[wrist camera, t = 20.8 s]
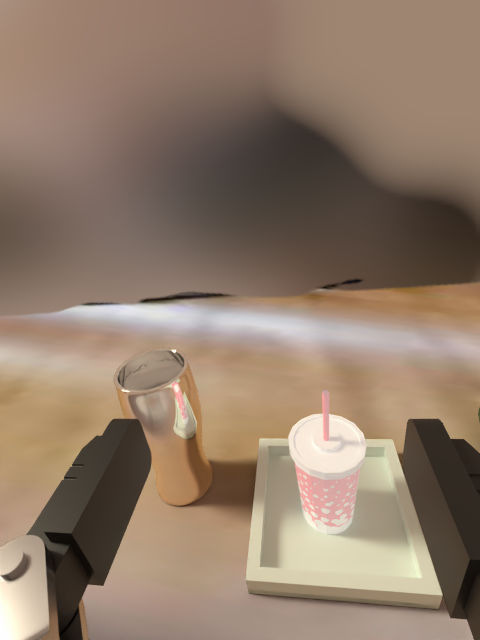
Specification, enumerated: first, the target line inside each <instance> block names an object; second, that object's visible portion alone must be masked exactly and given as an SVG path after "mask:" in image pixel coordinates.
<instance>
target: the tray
mask: <svg viewBox="0 0 480 640" xmlns="http://www.w3.org/2000/svg"><path fill="white" fill-rule="evenodd" d="M365 441H366V444H367V447H366V453H365V458H364V463H363V465H362V466H361V467H360V473H359V479H358V486H357V493H356V500H355V507H354V513H353V518H352V523H351V524H350V525H349V527H348V528H347V529H346V530H344V531H342V532H340V533H338V534H325V533H322V532H319V531H317V530H315V529H314V528H313V527H312V526H311V525H309V524H308V522H307V520H306V519H305V517H304V515H303V510H302V504H301V498H300V492H299V486H298V480H297V474H296V468H295V462H294V460H293V459H292V457H291V455H290V450H289V439H260V441H259V451H258V461H257V471H256V482H255V492H254V502H253V512H252V522H251V532H250V542H249V552H248V562H247V572H246V584H247V588H248V592H249V593H252V594H264V595H276V596H288V597H300V598H311V599H323V600H335V601H347V602H359V603H371V604H383V605H394V606H406V607H418V608H430V609H439V606H440V603H441V600H442V596H443V595H442V592H441V589H440V586H439V582H438V579H437V576H436V573H435V570H434V567H433V564H432V561H431V558H430V554H429V551H428V548H427V545H426V542H425V539H424V536H423V533H422V530H421V526H420V523H419V520H418V517H417V514H416V511H415V508H414V505H413V502H412V499H411V495H410V492H409V489H408V486H407V483H406V480H405V477H404V474H403V471H402V467H401V464H400V461H399V458H398V455H397V452H396V449H395V446H394V443H393V440H391V439H365Z"/></svg>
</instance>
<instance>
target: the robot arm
mask: <svg viewBox="0 0 480 640" xmlns="http://www.w3.org/2000/svg"><path fill="white" fill-rule="evenodd" d="M151 461H152V456H151V450H150V448H149V445H148V442H147V439H146V436H145V434H144V431H143V428H142V425H141V423H140V421H139V420H138V419H113V420H112V421H111V422H110V423H109V425H108V426H107V428H106V430H105V431H104V433H103V435H102V436H96V437H95V438H94V439H92V440H91V441H90V442H89V443H88V444H87V445H86V446H85V447H84V448H83V449H82V450H81V451H80V453H79V455H78V456H77V458H76V459H75V461H74V462H73V464H72V467H70V469H69V470H68V472H67V473H66V475H65V476H64V480H62V481H61V483H60V484H59V486H58V487H57V489H56V490H55V492H54V493H53V495H52V497H51V498H50V500H49V501H48V503H47V504H46V506H45V507H44V509H43V511H42V512H41V514H40V515H39V517H38V518H37V520H36V521H35V523H34V525H33V526H32V528H31V529H30V530H29V532H28V533H27V534H26V536H22V537H18V538H16V539H14V540H12V541H10V542H9V543H7V544H6V545H4V546H3V547H2V548H1V549H0V640H89V637H88V630H87V623H86V616H85V609H84V603H83V600H82V596H83V594H84V592H85V589H86V587H87V585H88V584H90V585H101V586H103V585H104V582H105V580H106V578H107V575H108V573H109V570H110V568H111V565H112V563H113V560H114V558H115V555H116V553H117V550H118V548H119V546H120V543H121V541H122V538H123V536H124V533H125V531H126V528H127V526H128V523H129V521H130V519H131V516H132V514H133V511H134V509H135V506H136V504H137V501H138V499H139V496H140V494H141V491H142V489H143V487H144V484H145V482H146V479H147V477H148V474H149V472H150V468H151ZM403 468H404V474H405V478H406V482H407V485H408V488H409V491H410V494H411V497H412V500H413V503H414V506H415V510H416V513H417V516H418V519H419V522H420V525H421V528H422V531H423V534H424V537H425V540H426V544H427V547H428V550H429V553H430V556H431V559H432V562H433V565H434V568H435V571H436V575H437V578H438V581H439V584H440V587H441V590H442V593H443V596H444V599H445V602H446V606H447V609H448V612H449V615H450V618H457V619H467V621H468V624H469V627H470V629H471V632H472V635H473V638H474V640H480V453H479V452H477V451H476V450H475V449H474V448H473V447H472V446H471V445H470V444H469V443H468V442H466V441H465V440H464V439H450V437H449V435H448V433H447V431H446V429H445V427H444V425H443V423H442V422H441V420H439V419H409V420H408V422H407V429H406V436H405V444H404V451H403Z"/></svg>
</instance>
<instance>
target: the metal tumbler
mask: <svg viewBox="0 0 480 640" xmlns="http://www.w3.org/2000/svg"><path fill="white" fill-rule="evenodd" d="M114 384H115V386H116V390H117V394H118V398H119V402H120V405H121V409H122V412H123V415H124V418H125V419H138V420H139V421H140V423H141V425H142V428H143V431H144V434H145V436H146V439H147V442H148V445H149V448H150V450H151V456H152V461H151V464H152V466H153V468H154V471H155V475H156V486H157V491H158V494H159V496H160V497H161V498H162V500H163V501H165V502H166V503H168V504H171V505H175V506H182V505H187V504H190V503H193V502H195V501H197V500H198V499H200V498H201V497H202V496H203V495H204V494H205V493H206V492H207V491H208V489H209V487H210V485H211V483H212V479H213V471H212V467H211V465H210V463H209V461H208V459H207V457H206V456H205V453H204V451H203V446H202V415H201V405H200V400H199V395H198V391H197V387H196V384H195V381H194V378H193V375H192V372H191V369H190V367H189V364H188V359H187V357H186V355H185V354H184V353H182V352H181V351H179V350H176V349H171V348H158V349H152V350H148V351H145V352H142V353H139V354H137V355H135V356H133V357H131V358H130V359H128V360H127V361H125V362H124V363H123V364H122V365H121V366H120V367H119V368H118V369H117V371H116V372H115V375H114Z"/></svg>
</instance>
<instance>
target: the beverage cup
mask: <svg viewBox="0 0 480 640" xmlns="http://www.w3.org/2000/svg"><path fill="white" fill-rule="evenodd" d="M322 401H323V414H314V415H311V416H308V417H305V418H303V419H301V420H300V421H299V422H298V423H296V424H295V425H294V426H293V427H292V430H291V432H290V434H289V437H288V438H289V450H290V455H291V457H292V459H293V460H294V462H295V468H296V474H297V480H298V486H299V492H300V498H301V504H302V510H303V515H304V517H305V519H306V520H307V522H308V524H309V525H311V526H312V527H313V528H314V529H315V530H317V531H319V532H322V533H325V534H338V533H340V532H342V531H344V530H346V529H347V528H348V527H349V525H350V524H351V523H352V518H353V513H354V507H355V500H356V493H357V486H358V479H359V473H360V467H361V466H362V465H363V463H364V458H365V453H366V447H367V444H366V441H365V438H364V435H363V433H362V432H361V431H360V430H359V428H358V427H357V426H356V425H355V424H354V423H352V422H350V421H349V420H347V419H345V418H343V417H341V416H336V415H332V414H329V391H327V390H324V391H323V392H322Z"/></svg>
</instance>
